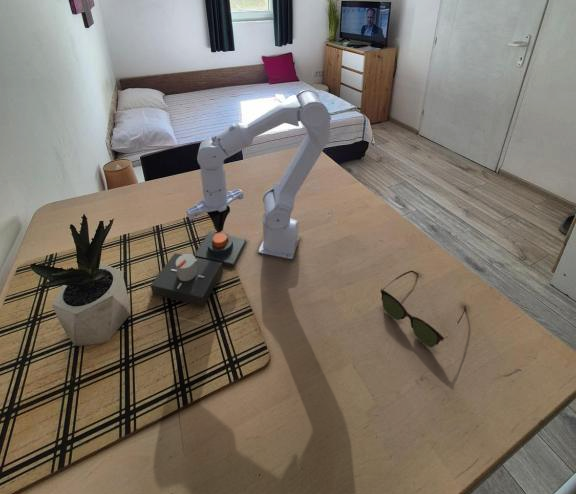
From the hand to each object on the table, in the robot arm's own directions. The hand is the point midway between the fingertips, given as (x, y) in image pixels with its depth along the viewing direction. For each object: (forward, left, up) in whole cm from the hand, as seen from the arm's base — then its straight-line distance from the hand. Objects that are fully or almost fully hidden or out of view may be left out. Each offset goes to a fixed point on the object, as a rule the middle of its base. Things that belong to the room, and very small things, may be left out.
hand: (218, 229), depth 85 cm
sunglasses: (-51, +4, -7) cm, 52 cm away
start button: (0, 0, -5) cm, 5 cm away
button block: (0, 0, -7) cm, 7 cm away
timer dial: (+3, +11, -4) cm, 13 cm away
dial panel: (+3, +11, -7) cm, 14 cm away
